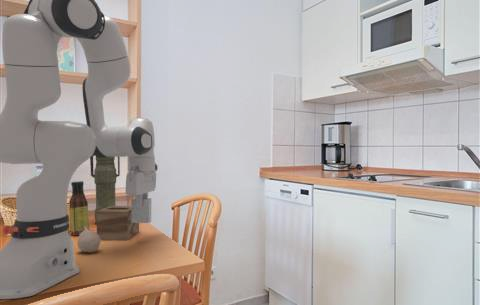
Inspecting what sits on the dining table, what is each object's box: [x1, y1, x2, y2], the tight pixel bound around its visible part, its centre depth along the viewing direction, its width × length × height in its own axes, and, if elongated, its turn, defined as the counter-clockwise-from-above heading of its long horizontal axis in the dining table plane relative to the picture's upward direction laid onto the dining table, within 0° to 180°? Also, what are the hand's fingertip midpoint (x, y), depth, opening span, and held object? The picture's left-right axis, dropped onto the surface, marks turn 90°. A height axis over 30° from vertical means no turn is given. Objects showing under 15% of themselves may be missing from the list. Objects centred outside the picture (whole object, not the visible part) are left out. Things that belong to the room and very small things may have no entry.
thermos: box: [89, 154, 121, 226], centre depth 141 cm, size 9×12×35 cm
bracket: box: [131, 197, 152, 224], centre depth 111 cm, size 2×6×8 cm, turn 88°
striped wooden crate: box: [96, 205, 140, 241], centre depth 120 cm, size 11×11×10 cm
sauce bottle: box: [69, 180, 90, 237], centre depth 122 cm, size 7×6×20 cm
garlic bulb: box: [77, 226, 102, 253], centre depth 101 cm, size 7×6×8 cm
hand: (141, 206), depth 111 cm, fingers closed on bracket, 2 cm apart
